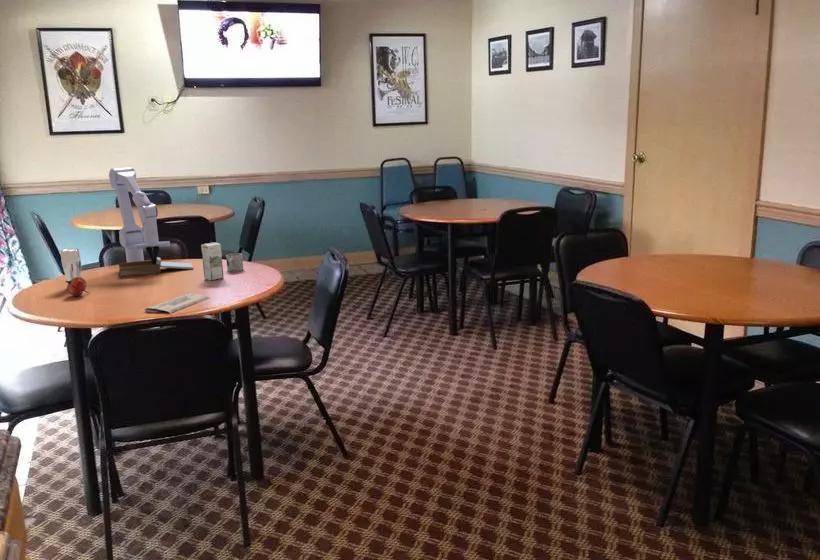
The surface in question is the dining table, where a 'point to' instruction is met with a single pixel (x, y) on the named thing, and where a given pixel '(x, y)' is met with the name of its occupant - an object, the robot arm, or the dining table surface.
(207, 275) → the syrup box
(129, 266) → the case
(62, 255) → the white tapered container
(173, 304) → the newspaper
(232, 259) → the mug
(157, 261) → the cover plate
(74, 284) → the pomegranate
